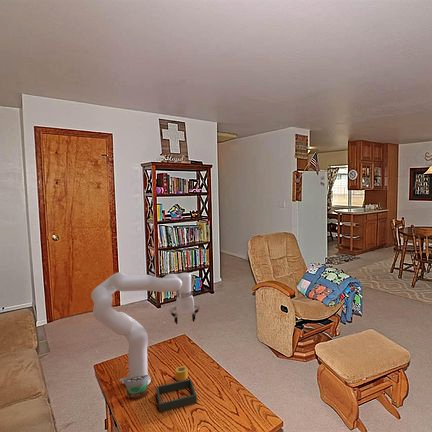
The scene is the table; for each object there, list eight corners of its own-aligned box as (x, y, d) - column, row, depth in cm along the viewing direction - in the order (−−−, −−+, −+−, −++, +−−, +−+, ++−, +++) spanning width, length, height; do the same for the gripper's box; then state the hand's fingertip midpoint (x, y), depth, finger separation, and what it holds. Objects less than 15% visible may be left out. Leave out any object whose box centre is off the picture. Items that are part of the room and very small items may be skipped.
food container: (124, 403, 170) (123, 384, 169) (123, 396, 176) (123, 378, 175) (150, 397, 176) (150, 378, 175) (149, 390, 181) (149, 372, 180)
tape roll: (176, 382, 189) (176, 373, 189) (174, 375, 195) (174, 367, 195) (188, 379, 192) (188, 370, 192) (186, 373, 198) (186, 365, 198)
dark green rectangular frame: (159, 412, 165) (159, 404, 164) (156, 393, 179) (156, 386, 178) (196, 402, 172) (196, 395, 172) (191, 385, 186) (190, 379, 186)
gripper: (170, 298, 193) (170, 327, 194) (200, 294, 200) (201, 322, 202) (168, 293, 199) (168, 322, 201) (198, 290, 207) (198, 317, 208)
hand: (185, 322), depth 201 cm, fingers open, 9 cm apart
